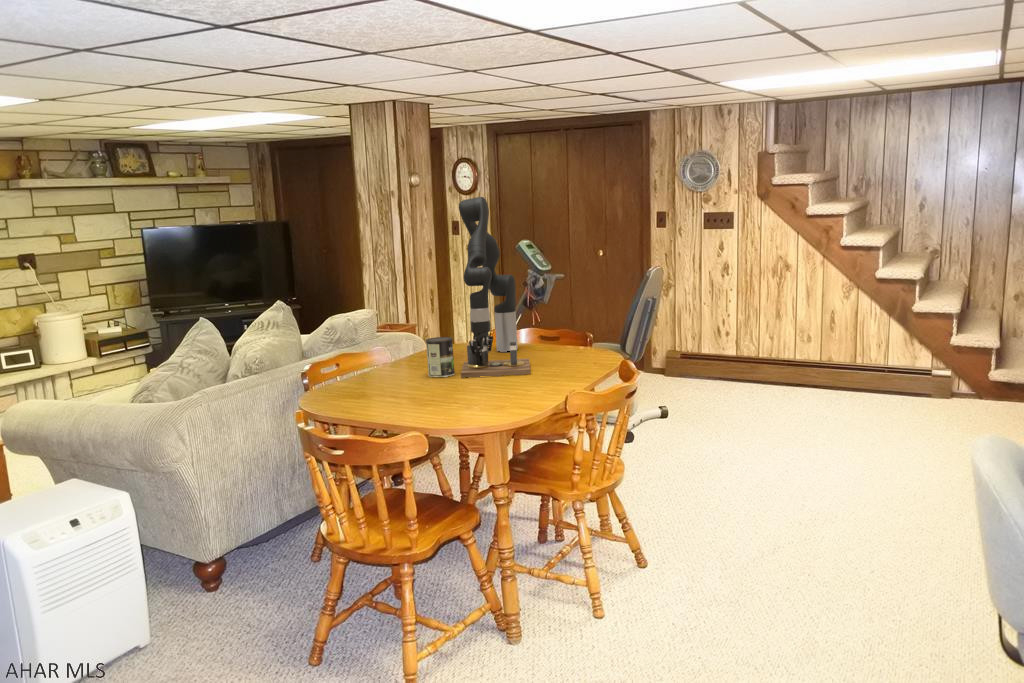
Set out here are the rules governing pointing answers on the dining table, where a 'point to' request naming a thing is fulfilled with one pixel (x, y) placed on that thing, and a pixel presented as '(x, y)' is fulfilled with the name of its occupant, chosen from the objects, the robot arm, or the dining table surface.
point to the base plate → (496, 369)
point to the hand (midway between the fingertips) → (482, 364)
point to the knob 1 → (473, 360)
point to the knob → (513, 357)
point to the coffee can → (440, 357)
